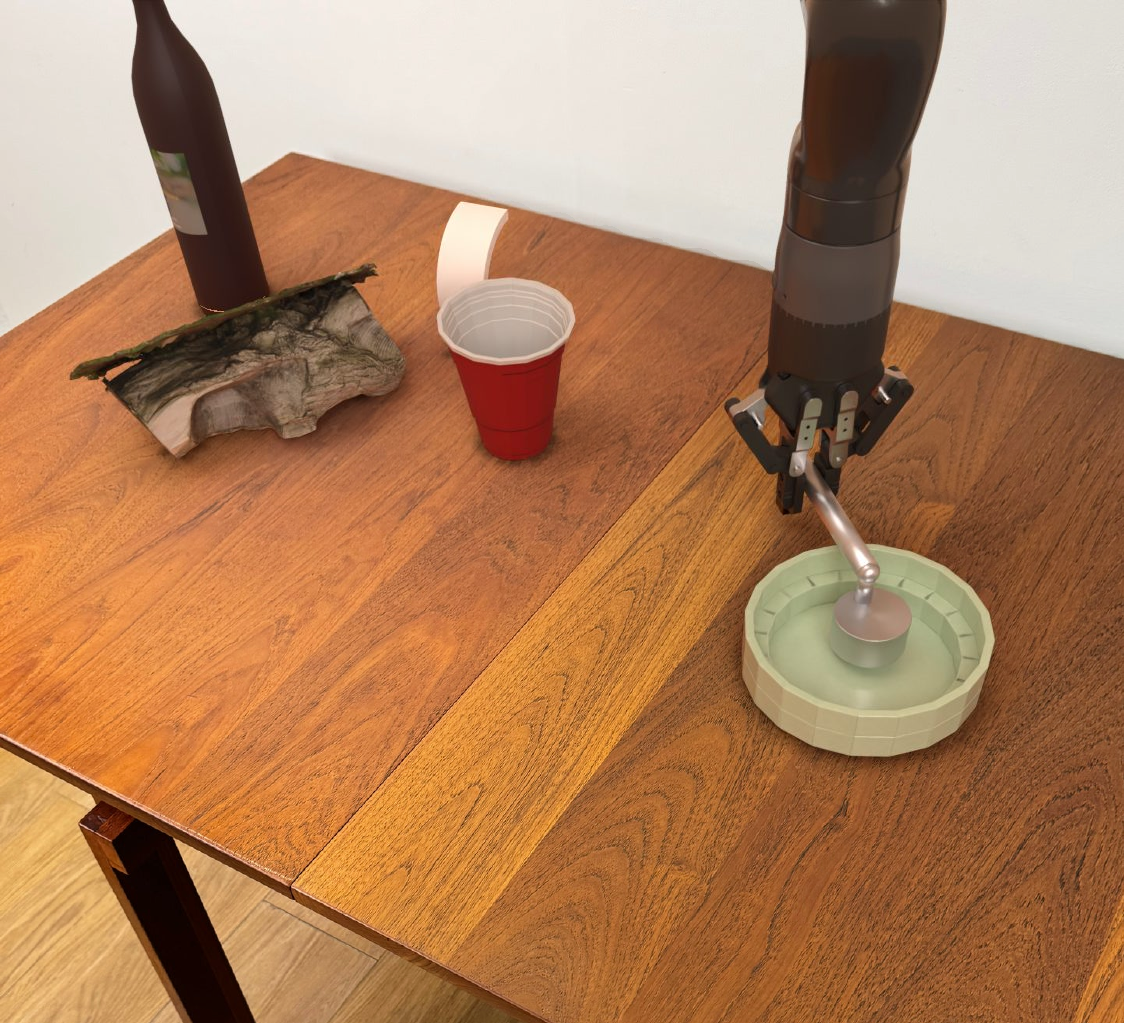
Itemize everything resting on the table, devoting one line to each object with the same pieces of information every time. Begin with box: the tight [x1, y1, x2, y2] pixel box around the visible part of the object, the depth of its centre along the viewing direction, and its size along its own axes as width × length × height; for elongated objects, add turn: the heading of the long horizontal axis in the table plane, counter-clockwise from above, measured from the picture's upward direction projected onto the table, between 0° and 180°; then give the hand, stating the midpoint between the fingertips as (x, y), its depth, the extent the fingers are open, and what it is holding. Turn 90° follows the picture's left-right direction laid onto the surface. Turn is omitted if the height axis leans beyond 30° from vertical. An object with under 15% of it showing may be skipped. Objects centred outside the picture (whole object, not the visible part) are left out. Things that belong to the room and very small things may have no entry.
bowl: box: [741, 543, 996, 758], centre depth 82 cm, size 16×16×4 cm
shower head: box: [775, 454, 912, 668], centre depth 86 cm, size 19×5×6 cm, turn 14°
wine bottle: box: [130, 0, 270, 316], centre depth 108 cm, size 7×7×30 cm
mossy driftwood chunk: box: [69, 262, 407, 460], centre depth 102 cm, size 28×13×15 cm
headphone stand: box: [436, 201, 509, 310], centre depth 108 cm, size 5×6×12 cm
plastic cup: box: [436, 277, 577, 461], centre depth 98 cm, size 11×11×12 cm
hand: (805, 503), depth 89 cm, fingers closed on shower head
